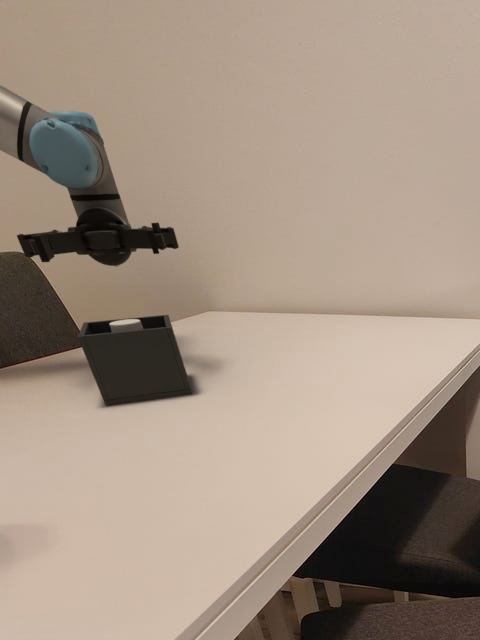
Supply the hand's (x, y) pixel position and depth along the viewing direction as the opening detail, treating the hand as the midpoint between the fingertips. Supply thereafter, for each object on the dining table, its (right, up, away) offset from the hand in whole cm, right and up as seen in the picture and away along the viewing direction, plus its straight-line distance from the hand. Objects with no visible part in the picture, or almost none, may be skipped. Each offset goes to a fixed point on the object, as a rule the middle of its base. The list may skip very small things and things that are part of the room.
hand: (98, 245), depth 79 cm
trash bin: (+2, -16, +8) cm, 18 cm away
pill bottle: (+2, -16, +8) cm, 18 cm away
